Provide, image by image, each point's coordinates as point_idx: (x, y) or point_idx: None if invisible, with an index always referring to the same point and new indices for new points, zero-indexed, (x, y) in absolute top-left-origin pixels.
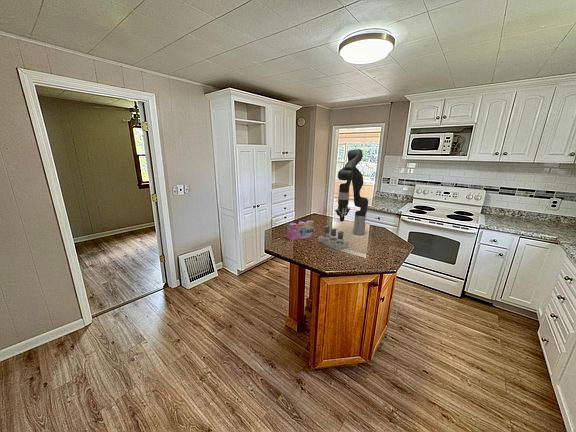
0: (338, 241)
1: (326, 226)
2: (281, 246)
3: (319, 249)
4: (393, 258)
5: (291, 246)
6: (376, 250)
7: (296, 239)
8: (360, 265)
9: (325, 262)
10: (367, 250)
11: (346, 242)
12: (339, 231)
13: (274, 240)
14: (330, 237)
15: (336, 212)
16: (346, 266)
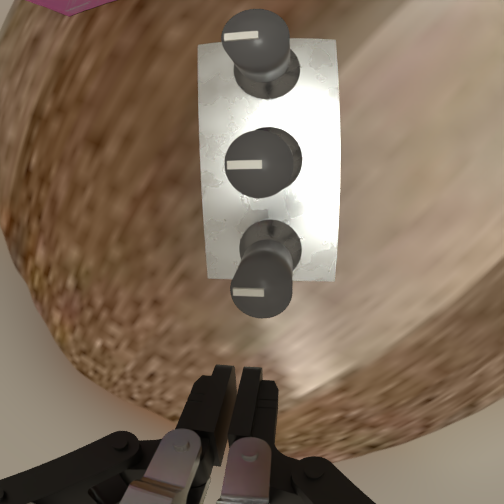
0: (274, 227)
1: (238, 39)
2: (6, 90)
3: (128, 197)
4: (393, 433)
5: (32, 100)
6: (426, 364)
7: (97, 5)
8: None
9: (94, 333)
10: (391, 347)
11: (322, 270)
12: (263, 267)
13: (20, 12)
14: (280, 108)
15: (40, 475)
16: (157, 397)
